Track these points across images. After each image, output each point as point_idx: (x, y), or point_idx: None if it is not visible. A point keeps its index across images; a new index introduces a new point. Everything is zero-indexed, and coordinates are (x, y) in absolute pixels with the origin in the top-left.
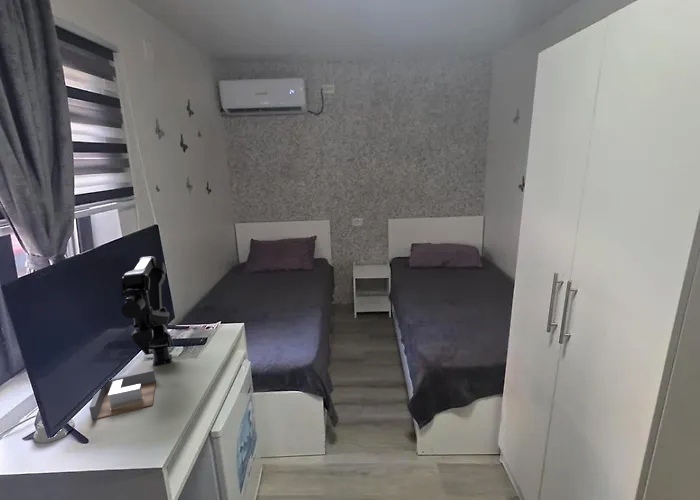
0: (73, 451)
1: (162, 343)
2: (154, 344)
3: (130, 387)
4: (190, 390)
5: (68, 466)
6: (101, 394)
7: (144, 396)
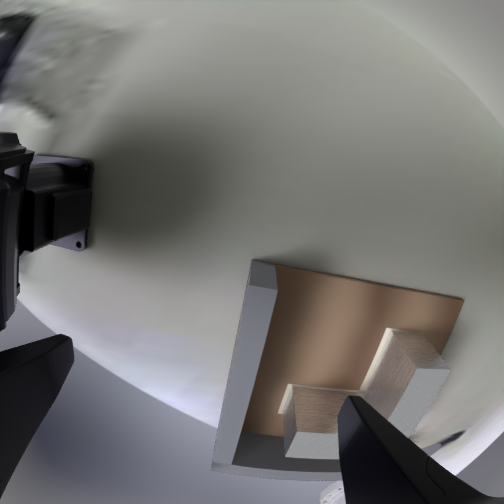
0: (464, 445)
1: (20, 204)
2: (15, 264)
3: (411, 402)
4: (460, 140)
5: (493, 438)
6: (301, 458)
7: (388, 324)
